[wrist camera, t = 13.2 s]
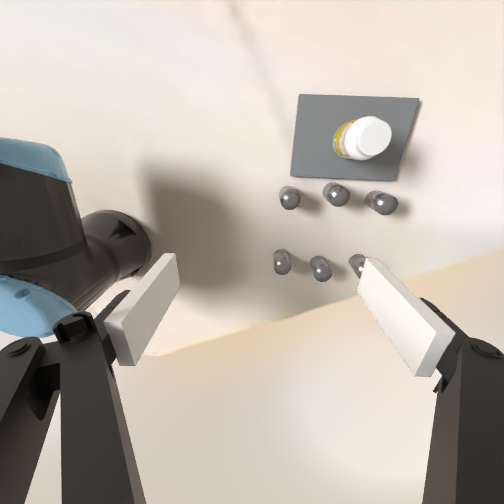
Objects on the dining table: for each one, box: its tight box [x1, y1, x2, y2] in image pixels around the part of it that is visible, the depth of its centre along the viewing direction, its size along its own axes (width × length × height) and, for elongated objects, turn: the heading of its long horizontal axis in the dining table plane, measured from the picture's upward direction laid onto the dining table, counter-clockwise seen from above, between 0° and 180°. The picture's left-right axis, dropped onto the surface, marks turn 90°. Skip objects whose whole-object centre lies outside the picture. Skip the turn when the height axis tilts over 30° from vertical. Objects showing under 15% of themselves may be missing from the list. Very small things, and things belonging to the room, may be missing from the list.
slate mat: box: [290, 94, 420, 181], centre depth 37 cm, size 18×12×1 cm, turn 88°
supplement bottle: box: [333, 116, 392, 160], centre depth 32 cm, size 5×5×10 cm
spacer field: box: [274, 183, 398, 282], centre depth 42 cm, size 19×18×5 cm
